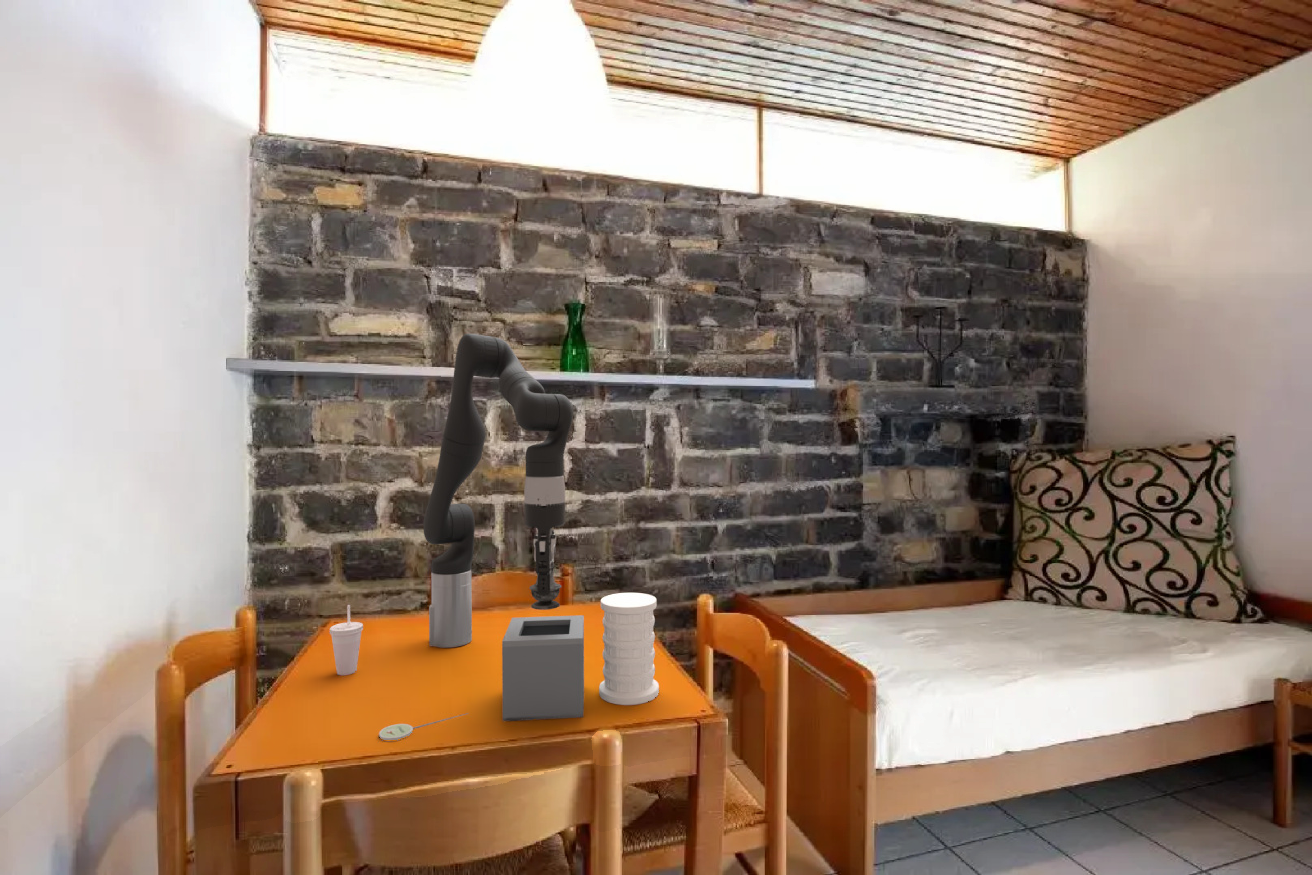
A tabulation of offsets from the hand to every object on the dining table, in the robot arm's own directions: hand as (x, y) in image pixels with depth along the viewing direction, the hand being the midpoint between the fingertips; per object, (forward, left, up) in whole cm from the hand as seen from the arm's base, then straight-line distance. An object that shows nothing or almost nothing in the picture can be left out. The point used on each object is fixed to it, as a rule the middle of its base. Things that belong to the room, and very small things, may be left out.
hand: (545, 589), depth 116 cm
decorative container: (+16, +3, -21) cm, 27 cm away
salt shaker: (0, 0, -3) cm, 3 cm away
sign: (-20, -7, -22) cm, 30 cm away
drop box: (0, 0, -21) cm, 21 cm away
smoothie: (-43, +20, -21) cm, 52 cm away
